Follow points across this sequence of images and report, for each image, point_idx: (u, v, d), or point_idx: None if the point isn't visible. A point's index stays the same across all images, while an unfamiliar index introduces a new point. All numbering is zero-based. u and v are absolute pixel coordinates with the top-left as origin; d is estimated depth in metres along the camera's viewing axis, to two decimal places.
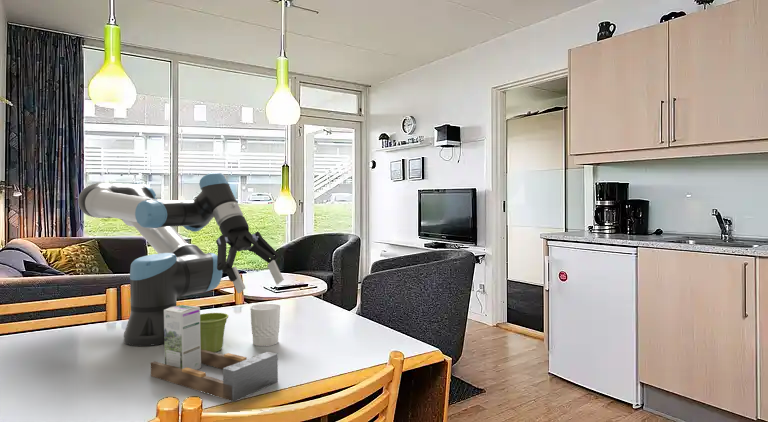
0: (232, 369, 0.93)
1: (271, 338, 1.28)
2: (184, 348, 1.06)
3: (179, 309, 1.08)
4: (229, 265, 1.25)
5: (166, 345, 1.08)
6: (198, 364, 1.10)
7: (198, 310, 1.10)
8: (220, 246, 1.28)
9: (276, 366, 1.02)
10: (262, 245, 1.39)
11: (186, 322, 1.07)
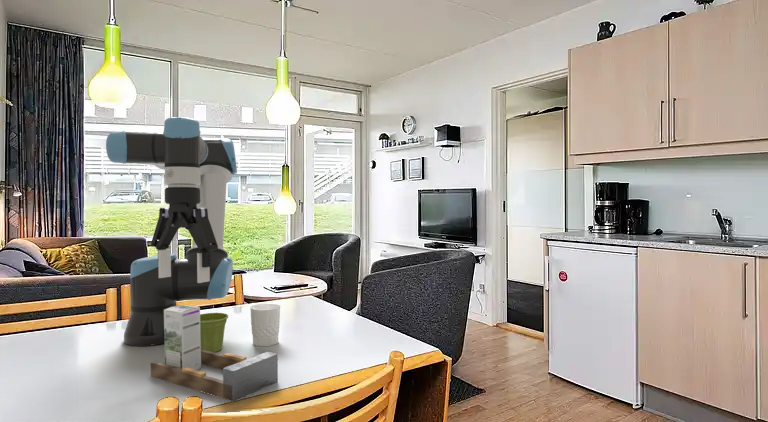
0: (232, 369, 0.93)
1: (271, 338, 1.28)
2: (184, 348, 1.07)
3: (179, 309, 1.08)
4: None
5: (166, 345, 1.08)
6: (198, 364, 1.10)
7: (198, 310, 1.10)
8: None
9: (276, 366, 1.02)
10: None
11: (186, 322, 1.07)
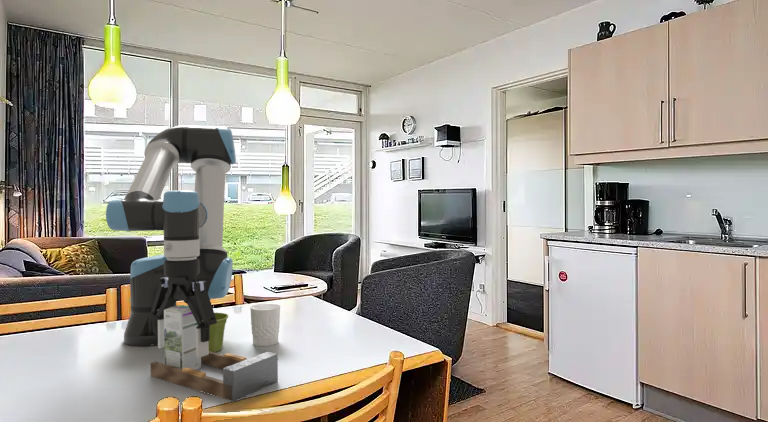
0: (232, 369, 0.93)
1: (271, 338, 1.28)
2: (184, 348, 1.06)
3: (179, 309, 1.08)
4: (155, 316, 1.12)
5: (166, 345, 1.08)
6: (198, 364, 1.10)
7: None
8: None
9: (276, 366, 1.02)
10: None
11: (186, 322, 1.07)
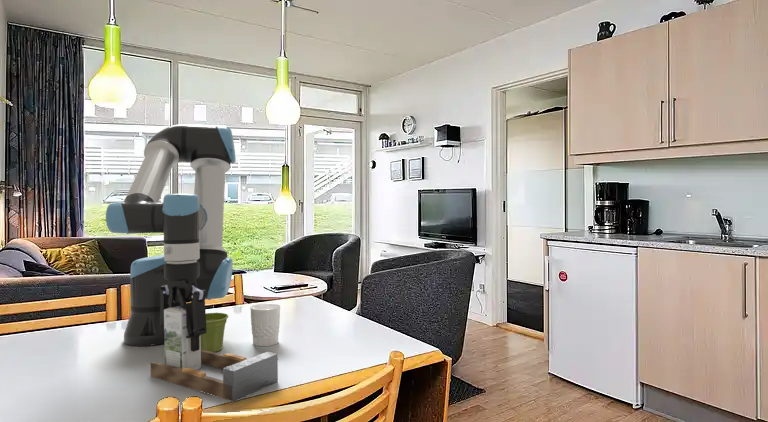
0: (232, 369, 0.93)
1: (271, 338, 1.28)
2: (184, 348, 1.06)
3: (179, 309, 1.08)
4: None
5: (166, 345, 1.08)
6: (198, 364, 1.10)
7: None
8: None
9: (276, 366, 1.02)
10: None
11: None
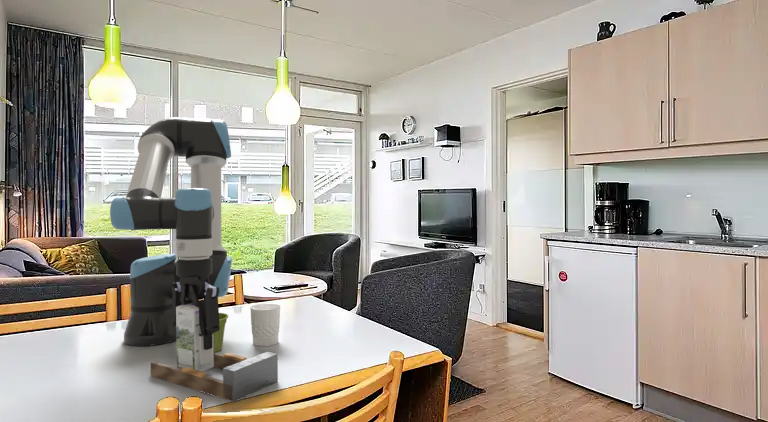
0: (232, 369, 0.93)
1: (271, 338, 1.28)
2: (197, 346, 1.04)
3: (191, 306, 1.05)
4: None
5: (178, 343, 1.05)
6: (211, 363, 1.08)
7: None
8: None
9: (276, 366, 1.02)
10: None
11: None
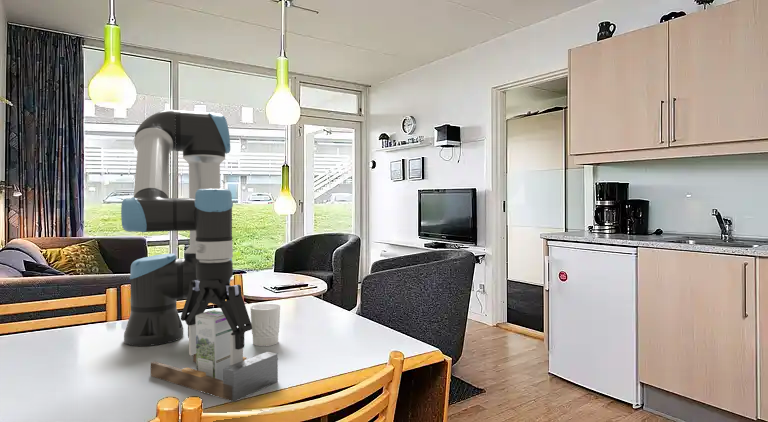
0: (232, 369, 0.93)
1: (271, 338, 1.28)
2: (217, 356, 1.01)
3: (211, 315, 1.02)
4: None
5: (198, 353, 1.02)
6: None
7: None
8: None
9: (276, 366, 1.02)
10: None
11: (219, 328, 1.01)
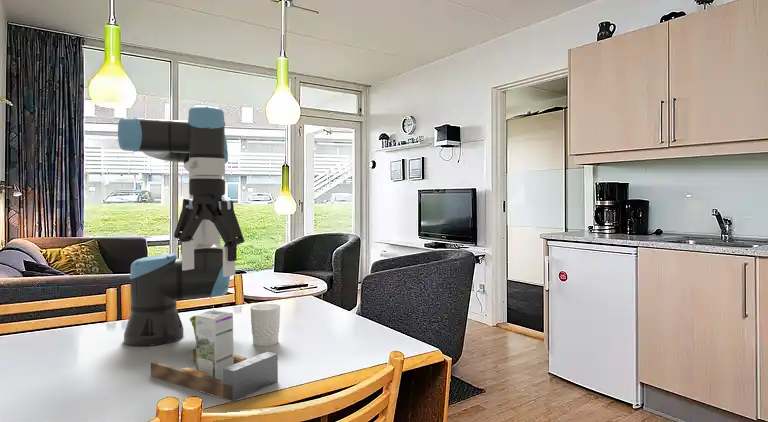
0: (232, 369, 0.93)
1: (271, 338, 1.28)
2: (217, 356, 1.01)
3: (211, 315, 1.02)
4: (179, 238, 1.10)
5: (198, 353, 1.02)
6: None
7: (231, 316, 1.04)
8: None
9: (276, 366, 1.02)
10: None
11: (219, 328, 1.01)
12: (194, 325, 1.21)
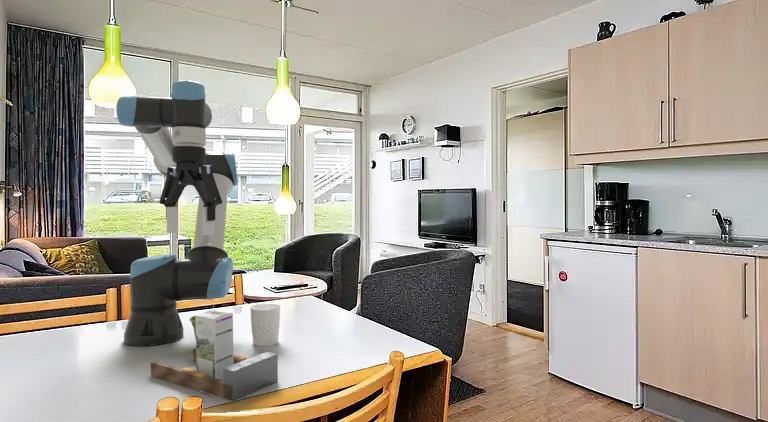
0: (232, 369, 0.93)
1: (271, 338, 1.28)
2: (217, 356, 1.01)
3: (211, 315, 1.02)
4: (164, 204, 1.20)
5: (198, 353, 1.02)
6: None
7: (231, 316, 1.04)
8: None
9: (276, 366, 1.02)
10: None
11: (219, 328, 1.01)
12: (194, 325, 1.21)
